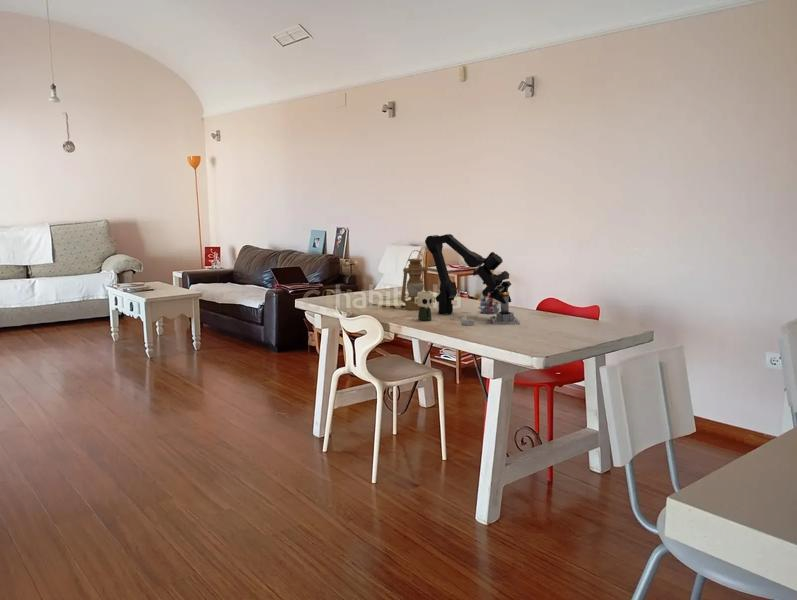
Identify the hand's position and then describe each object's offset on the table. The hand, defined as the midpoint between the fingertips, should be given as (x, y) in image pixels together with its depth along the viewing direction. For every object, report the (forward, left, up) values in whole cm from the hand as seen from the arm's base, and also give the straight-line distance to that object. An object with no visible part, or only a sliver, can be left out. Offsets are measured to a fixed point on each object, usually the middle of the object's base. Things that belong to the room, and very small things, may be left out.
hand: (508, 302), depth 296 cm
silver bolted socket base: (-1, +1, -9) cm, 9 cm away
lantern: (-43, +33, -9) cm, 55 cm away
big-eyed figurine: (-38, +3, -9) cm, 39 cm away
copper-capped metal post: (-1, +1, -8) cm, 8 cm away
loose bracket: (-19, -5, -9) cm, 22 cm away
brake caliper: (-6, +24, -9) cm, 27 cm away
